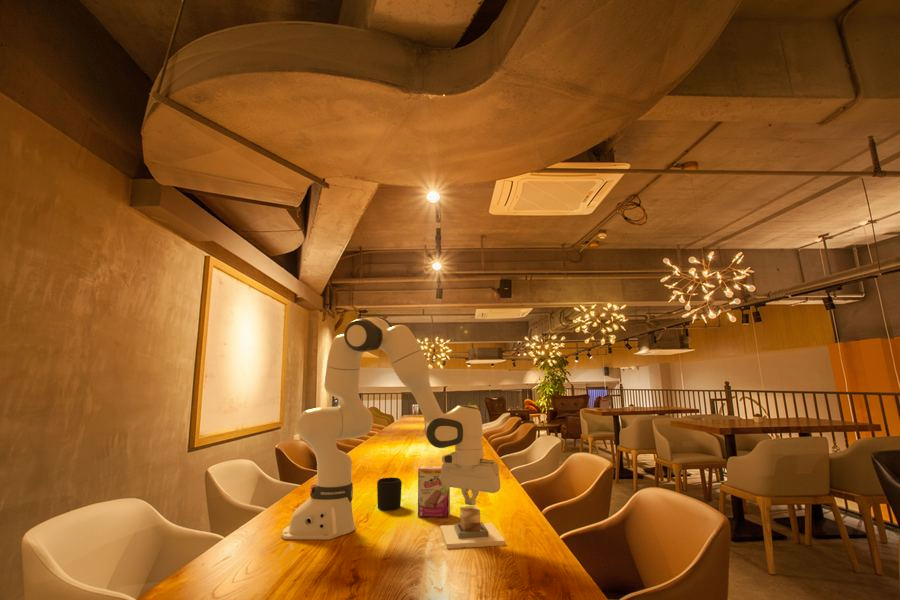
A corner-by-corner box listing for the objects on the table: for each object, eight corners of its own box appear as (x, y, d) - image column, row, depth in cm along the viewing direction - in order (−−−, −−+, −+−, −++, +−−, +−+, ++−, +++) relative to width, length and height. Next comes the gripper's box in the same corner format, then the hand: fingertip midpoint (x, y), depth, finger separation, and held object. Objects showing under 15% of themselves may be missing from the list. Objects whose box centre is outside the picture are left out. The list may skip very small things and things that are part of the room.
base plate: (446, 548, 125) (446, 538, 126) (440, 529, 142) (440, 520, 142) (505, 545, 127) (504, 535, 128) (491, 526, 144) (491, 517, 145)
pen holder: (406, 506, 170) (406, 478, 172) (390, 512, 162) (391, 483, 164) (387, 503, 175) (387, 476, 177) (371, 508, 167) (372, 481, 169)
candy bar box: (417, 517, 155) (417, 468, 158) (419, 513, 160) (419, 466, 163) (449, 518, 154) (448, 468, 157) (450, 514, 159) (449, 466, 162)
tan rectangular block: (464, 536, 132) (464, 511, 133) (460, 531, 137) (460, 506, 138) (480, 534, 133) (480, 509, 134) (475, 529, 138) (475, 505, 139)
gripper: (503, 458, 136) (505, 507, 133) (449, 454, 147) (449, 498, 144) (493, 461, 130) (494, 512, 128) (437, 456, 142) (438, 502, 139)
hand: (470, 504), depth 136 cm, fingers closed
